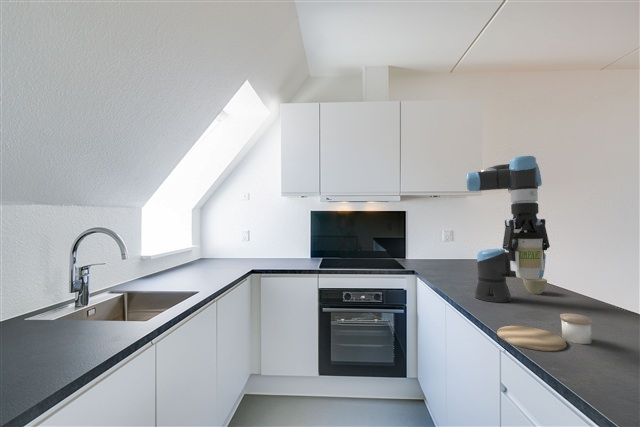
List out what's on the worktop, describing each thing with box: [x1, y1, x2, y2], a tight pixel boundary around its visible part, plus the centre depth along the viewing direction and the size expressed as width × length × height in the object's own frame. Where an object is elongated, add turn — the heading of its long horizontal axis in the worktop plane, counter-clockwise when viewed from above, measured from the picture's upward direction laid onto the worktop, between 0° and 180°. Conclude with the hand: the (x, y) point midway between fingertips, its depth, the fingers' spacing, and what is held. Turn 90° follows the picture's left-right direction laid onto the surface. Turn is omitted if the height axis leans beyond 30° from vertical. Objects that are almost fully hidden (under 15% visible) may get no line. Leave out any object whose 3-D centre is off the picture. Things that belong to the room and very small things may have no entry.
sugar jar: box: [559, 313, 593, 345], centre depth 93 cm, size 8×8×7 cm
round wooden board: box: [496, 325, 567, 352], centre depth 95 cm, size 18×18×1 cm
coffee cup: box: [513, 232, 544, 280], centre depth 99 cm, size 10×10×15 cm
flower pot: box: [522, 277, 548, 295], centre depth 148 cm, size 10×10×7 cm
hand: (527, 270), depth 99 cm, fingers closed on coffee cup, 9 cm apart
